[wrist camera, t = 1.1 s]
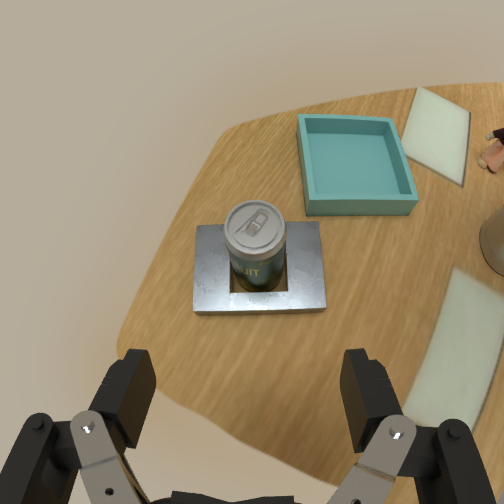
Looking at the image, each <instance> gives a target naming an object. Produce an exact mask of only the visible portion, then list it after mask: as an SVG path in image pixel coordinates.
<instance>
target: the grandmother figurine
mask: <svg viewBox="0 0 504 504" xmlns="http://www.w3.org/2000/svg"><path fill="white" fill-rule="evenodd" d="M494 138H498V139H497V141H495V142H494V143H493V144H492V145H490V146H489V147H488V148H487V149H486V151H485V152H484V153H483V154H482V155H481V156H479V158H478V164H479V166H480V167H482V168H484V169H485V168H486V167H487V165H488V166H489V169H490V170H491V171H492V172H495V173H496V172H497V170H498V169H499V167H500V166H501V164H502V163H503V161H504V128H502V129H498V130H495V131H493V132H491V133H490V134H487V135H486V139H487V140H488V141H489V140H491V139H494Z"/></svg>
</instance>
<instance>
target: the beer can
mask: <svg viewBox="0 0 504 504" xmlns="http://www.w3.org/2000/svg"><path fill="white" fill-rule="evenodd" d="M286 235H287V227H286V223H285V220H284V219H283V216H282V214H281V213H280V211H279V210H278V209H277V208H276V207H275V206H273V205H272V204H271V203H268V202H266V201H263V200H249V201H244V202H242V203H240V204H238V205H236V206H235V207H234V208H233V209H232V210H231V211H230V212H229V214H228V216H227V217H226V220H225V224H224V230H223V236H224V242H225V245H226V248H227V251H228V254H229V257H230V260H231V263H232V266H233V269H234V272H235V275H236V278H237V280H238V282H239V283H240V285H242V286H243V287H244V288H245V289H247V290H249V291H251V292H266V291H269V290H271V289H272V288H274V287H275V286H276V285H277V284H278V283H279V281H280V279H281V277H282V270H283V262H284V253H285V245H286Z"/></svg>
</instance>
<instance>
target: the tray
mask: <svg viewBox="0 0 504 504" xmlns="http://www.w3.org/2000/svg"><path fill="white" fill-rule="evenodd" d="M296 134H297V141H298V149H299V157H300V165H301V174H302V182H303V191H304V201H305V210H306V216H352V215H408V214H409V213H410V212H411V210H412V209H413V208H414V206H415V205H416V204H417V202H418V201H419V198H418V195H417V191H416V188H415V184H414V181H413V178H412V174H411V171H410V168H409V165H408V162H407V159H406V156H405V153H404V150H403V147H402V144H401V141H400V138H399V136H398V133H397V130H396V127H395V125H394V122H393V120H392V118H382V117H369V116H353V115H329V114H298V120H297V132H296Z"/></svg>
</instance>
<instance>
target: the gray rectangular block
mask: <svg viewBox="0 0 504 504" xmlns="http://www.w3.org/2000/svg"><path fill="white" fill-rule="evenodd" d="M285 223H286V227H287V235H286V245H285V263H286V283H287V292H256V293H232V263H231V260H230V257H229V254H228V251H227V248H226V245H225V242H224V236H223V230H224V224H220V225H197V232H196V249H195V269H194V293H193V312H195V313H196V314H197V315H260V314H290V313H312V312H323V311H324V309H325V308H326V298H325V285H324V273H323V262H322V252H321V242H320V232H319V223H318V221H311V222H285Z"/></svg>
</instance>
